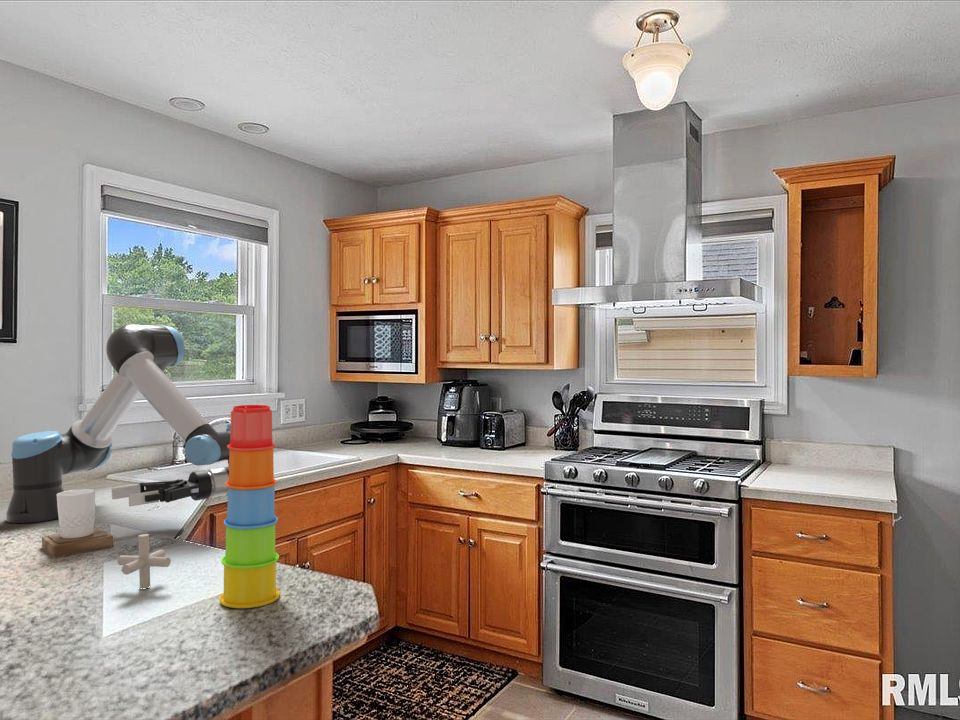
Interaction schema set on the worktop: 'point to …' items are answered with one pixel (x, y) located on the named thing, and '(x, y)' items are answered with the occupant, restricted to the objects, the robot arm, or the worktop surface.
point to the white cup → (76, 513)
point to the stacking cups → (250, 511)
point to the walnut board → (76, 543)
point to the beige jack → (143, 561)
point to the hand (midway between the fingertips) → (120, 497)
